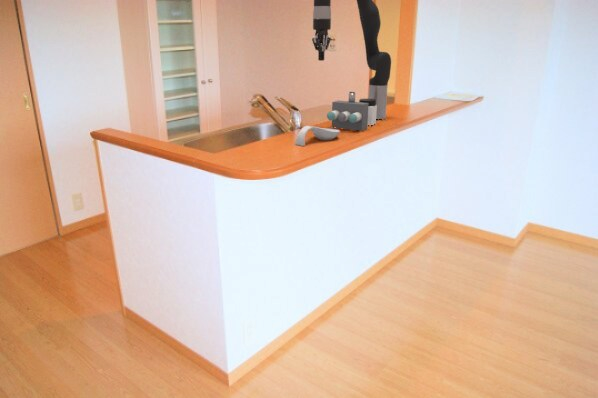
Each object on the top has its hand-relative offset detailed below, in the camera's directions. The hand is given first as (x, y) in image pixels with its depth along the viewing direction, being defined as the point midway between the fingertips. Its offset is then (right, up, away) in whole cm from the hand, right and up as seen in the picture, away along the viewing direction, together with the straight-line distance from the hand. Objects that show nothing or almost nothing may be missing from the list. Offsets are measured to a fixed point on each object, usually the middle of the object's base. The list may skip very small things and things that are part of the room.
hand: (321, 60), depth 210 cm
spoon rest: (-2, -36, -9) cm, 38 cm away
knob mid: (+12, -24, +12) cm, 29 cm away
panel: (+14, -27, +16) cm, 34 cm away
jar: (+23, -24, +25) cm, 42 cm away
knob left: (+8, -23, +14) cm, 28 cm away
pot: (+15, -16, +13) cm, 25 cm away
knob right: (+17, -25, +9) cm, 31 cm away
